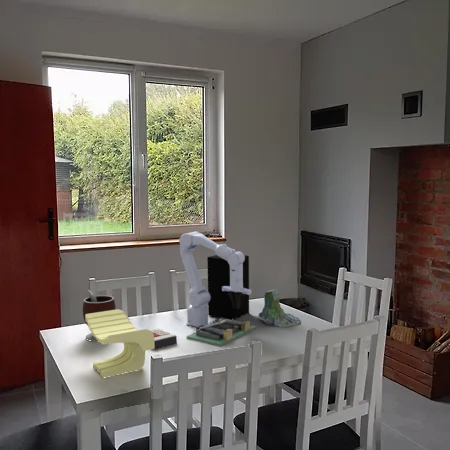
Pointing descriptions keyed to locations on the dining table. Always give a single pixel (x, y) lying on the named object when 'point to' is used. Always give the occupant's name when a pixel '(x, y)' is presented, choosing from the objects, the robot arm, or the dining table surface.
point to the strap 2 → (231, 321)
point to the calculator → (163, 339)
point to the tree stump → (276, 312)
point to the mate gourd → (97, 307)
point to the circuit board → (221, 342)
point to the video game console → (220, 299)
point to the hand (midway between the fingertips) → (236, 308)
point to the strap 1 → (212, 324)
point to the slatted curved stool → (119, 341)
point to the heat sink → (221, 330)
